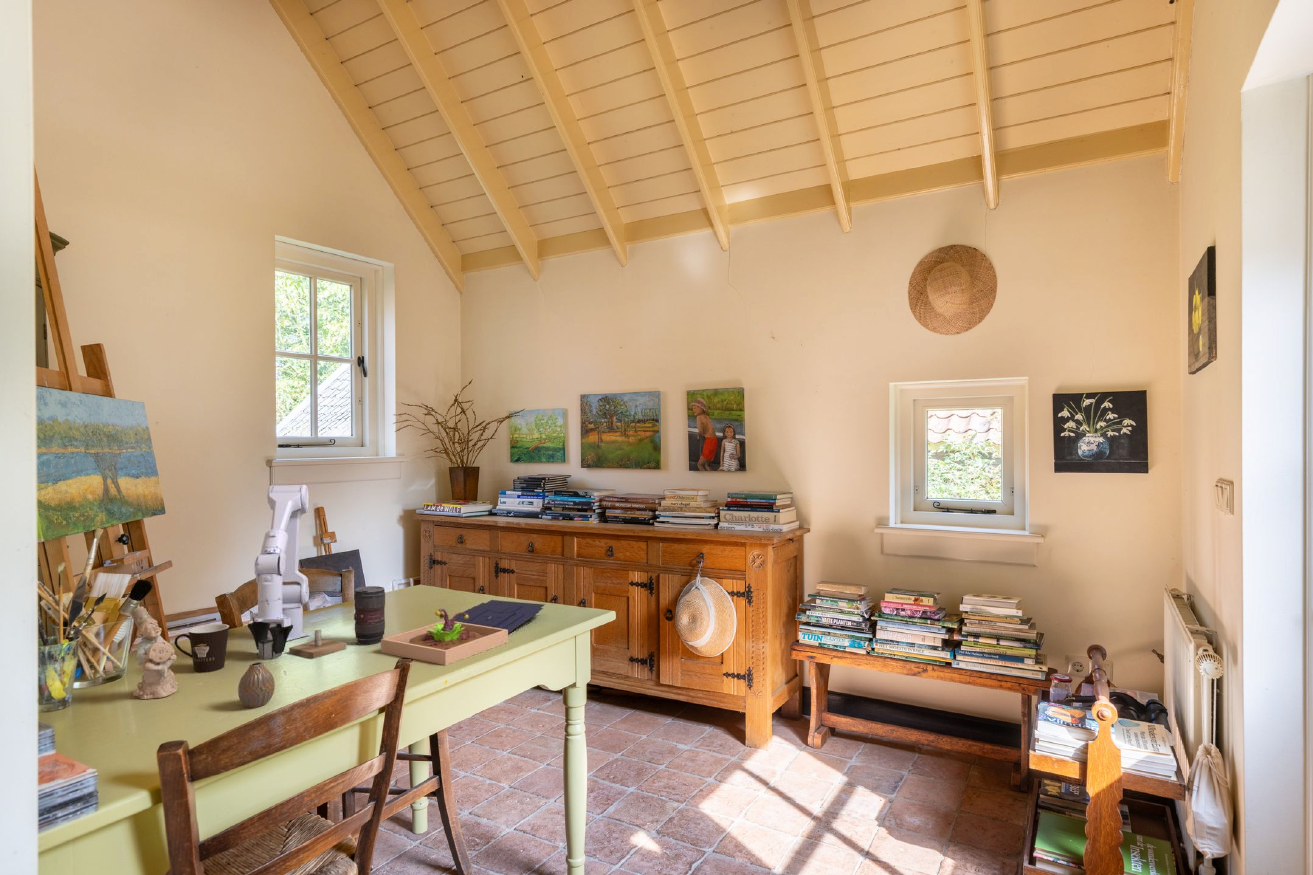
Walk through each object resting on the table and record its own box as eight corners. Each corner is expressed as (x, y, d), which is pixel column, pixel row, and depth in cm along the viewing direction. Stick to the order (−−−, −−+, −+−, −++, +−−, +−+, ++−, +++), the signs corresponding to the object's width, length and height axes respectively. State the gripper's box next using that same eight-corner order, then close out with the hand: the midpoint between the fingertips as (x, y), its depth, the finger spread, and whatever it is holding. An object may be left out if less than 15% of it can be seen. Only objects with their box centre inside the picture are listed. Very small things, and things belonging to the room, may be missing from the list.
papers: (551, 613, 233) (550, 602, 232) (499, 649, 205) (498, 636, 205) (487, 607, 241) (486, 596, 241) (429, 641, 214) (428, 629, 213)
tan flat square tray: (381, 652, 193) (381, 639, 193) (446, 631, 214) (446, 620, 214) (445, 665, 182) (445, 651, 182) (507, 642, 202) (507, 629, 202)
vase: (247, 699, 158) (247, 659, 158) (280, 698, 159) (280, 658, 159) (231, 710, 151) (231, 669, 152) (266, 709, 152) (265, 667, 152)
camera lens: (374, 646, 199) (373, 592, 199) (348, 644, 201) (348, 591, 200) (391, 638, 207) (390, 586, 206) (366, 636, 208) (365, 584, 208)
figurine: (123, 697, 160) (123, 607, 160) (163, 685, 167) (163, 599, 168) (148, 703, 156) (148, 610, 156) (187, 691, 164) (187, 602, 164)
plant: (395, 648, 198) (395, 607, 199) (461, 634, 212) (460, 596, 212) (428, 664, 184) (428, 620, 184) (496, 648, 197) (496, 607, 197)
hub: (254, 657, 189) (254, 641, 189) (273, 652, 194) (273, 637, 194) (266, 660, 187) (266, 644, 187) (285, 654, 191) (285, 639, 191)
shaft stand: (289, 653, 193) (289, 632, 193) (322, 643, 202) (322, 624, 202) (313, 658, 188) (313, 637, 188) (346, 648, 197) (346, 628, 197)
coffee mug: (237, 665, 183) (237, 625, 183) (206, 675, 175) (206, 634, 175) (203, 660, 187) (203, 622, 187) (171, 670, 178) (171, 630, 178)
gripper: (238, 599, 191) (239, 650, 190) (272, 605, 183) (272, 658, 183) (264, 594, 197) (264, 644, 197) (298, 599, 190) (298, 651, 190)
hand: (270, 650), depth 190 cm, fingers open, 7 cm apart
